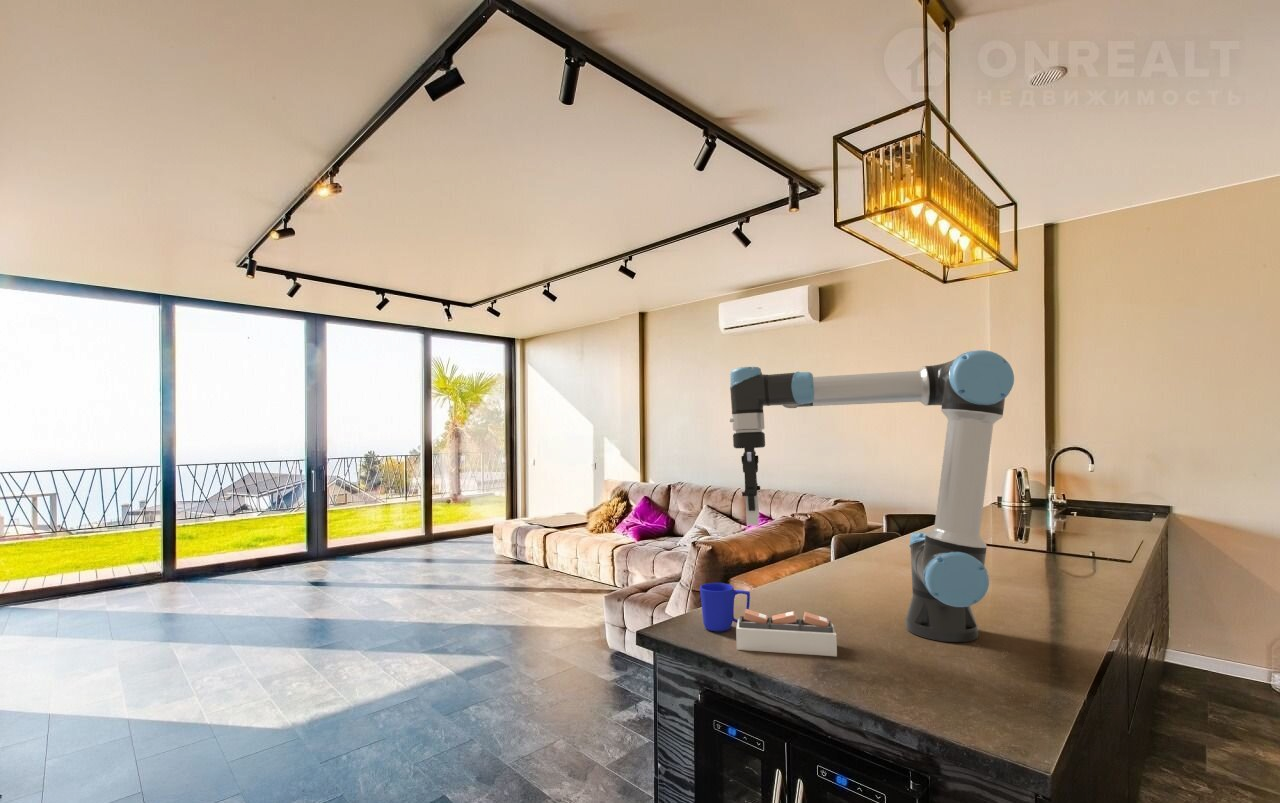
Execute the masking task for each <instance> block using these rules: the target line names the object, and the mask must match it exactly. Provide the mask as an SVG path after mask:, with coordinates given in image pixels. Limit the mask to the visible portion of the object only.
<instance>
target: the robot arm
mask: <svg viewBox="0 0 1280 803" xmlns="http://www.w3.org/2000/svg"><path fill="white" fill-rule="evenodd" d="M1014 382H1015V374H1014V370H1013V368H1012V366H1011V364H1010V362H1008V361H1007V359H1005V358H1004V357H1003V356H1002V355H1001V354H998V353H996V352H994V351H990V350H986V349H985V350H984V349H983V350H982V349H981V350H970V351H966V352H963V353H962V354H960V355H959V356H957V357H956V358H954V359H953V360H950V361H947V362H945V363H939V364H934V365H923V366H922V367H921V368H919V369H918V370H910V371H908V370H907V371H906V370H905V371H894V372H893V371H892V372H890V371H889V372H873V373H859V374H858V373H857V374H856V373H855V374H841V375H825V376H814V375H813V373H812V372H809V371H804V372H803V371H796V372H785V373H773V374H763V373H762V370H761V368H760V367H759V366H744V367H743V366H741V367H740V366H739V367H736V368H733V369H732V370H731V372H730V386H729V390H730V402H731V418H730V419H729V422H730V423H732V430H733V431H734V433H733V434H732V442H733V444H732V445H733V448H734V449H744V452H743V454H742V455H741V464H742V472H743V473H744V491H741V496H742V497H744V499H745V502H744V503H745V516H746V517H745V518H746V520H745V521H746V526H759V525H760V523H759V522H760V521H759V518H760V506H759V505H760V504H759V491H761V486H760V485H758V479H757V473H758V471H759V461H760V460H759V455H757V452H756V450H755V449H756V448H757V449H758V448H759V449H760V448H765V446H766V436H765V433H764V431H763V430H764V429H765V428H766V427H765V413H764V407H765V406H766V407H769V406H783V407H784V408H787V409H796V408H802V407H803V408H804V407H805V408H806V407H808V408H809V407H823V406H824V407H825V406H826V407H828V406H845V405H846V406H848V405H849V406H850V405H871V404H874V405H875V404H894V403H897V404H899V403H918V402H919V403H921V404H923V405H924V406H926V407H927V406H941V409H940V412H941V413H942V414H943V415H944V416H945V418H946V419H947V424H946V432H945V441H944V446H943V447H944V449H943V456H942V465H941V473H940V480H939V487H938V488H939V489H938V497H937V504H936V512H935V513H936V514H935V518H934V519H935V520H934V527H933V528H932V529H930V530H928V531H926V532H913V533H912V534H911V535H910V538H909V539H910V542H909V547H910V566H911V567H910V569H911V587H912V588H911V589H912V597H911V600H910V603H909V605H908V606H909V607H908V610H907V614H906V617H905V628H906V630H907V631H908V632H910V633H911V634H914V635H916V636H919V637H921V638H924V639H928V640H933V641H938V642H948V643H949V642H950V643H966V642H972V641H975V640H977V639H978V638H979V626H978V623H977V621H976V618H975V616H974V613H973V610H972V607H971V606H973V605H975V604H977V603H979V602H980V601H981V600H983V599H984V597H985V596H986V594H988V590H989V587H990V577H989V574H988V570H987V568H986V567H985V566H986V565H985V564H986V554H987V548H988V545H987V543H986V542H985V541H984V540H983V538H982V537H981V536H980V535H981V526H982V520H983V518H982V517H983V512H984V502H985V496H986V495H985V494H986V486H987V478H988V470H989V461H990V454H991V445H992V438H993V429H994V424H995V423H996V422H998V421H999V420H1001V419H1002V418H1003V416H1004V409H1005V401H1006V398H1007V397H1008V396H1009V395H1010V392H1011V391H1012V389H1013V386H1014Z"/></svg>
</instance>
